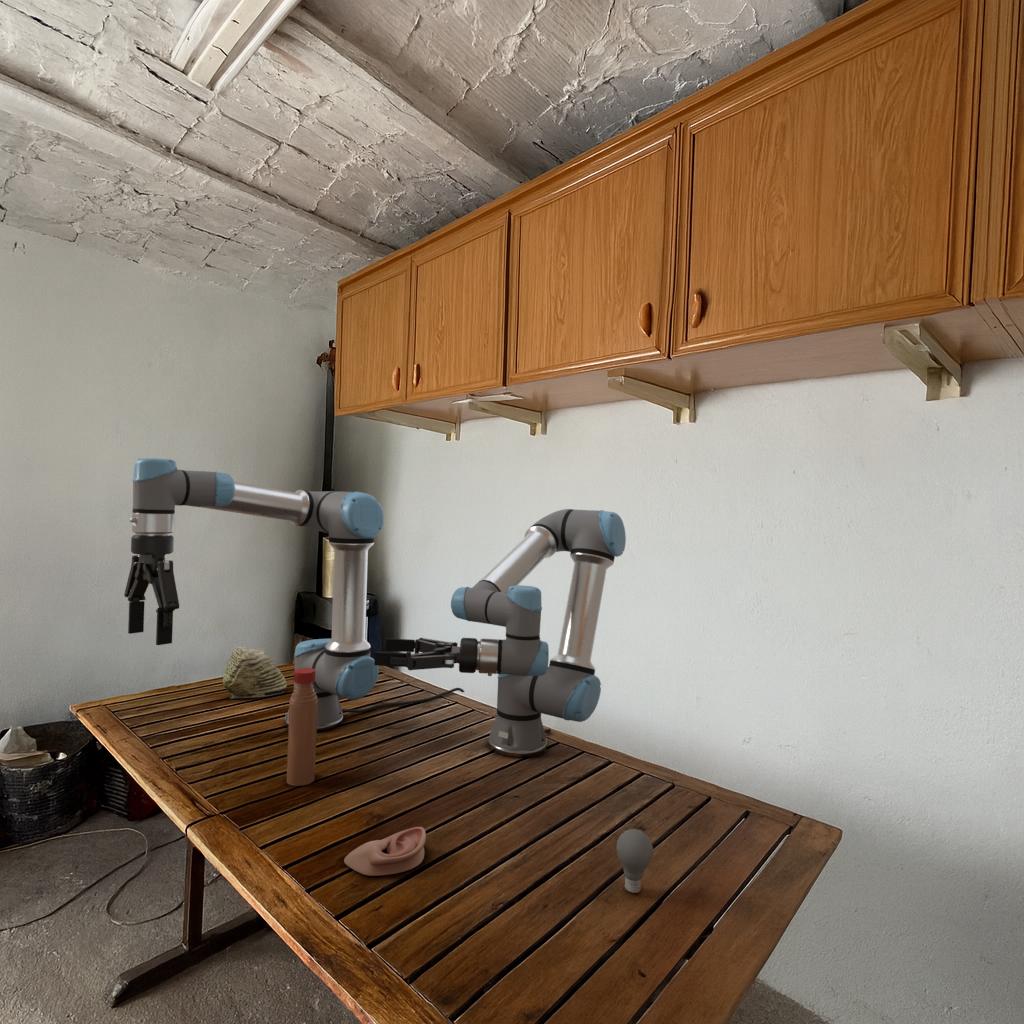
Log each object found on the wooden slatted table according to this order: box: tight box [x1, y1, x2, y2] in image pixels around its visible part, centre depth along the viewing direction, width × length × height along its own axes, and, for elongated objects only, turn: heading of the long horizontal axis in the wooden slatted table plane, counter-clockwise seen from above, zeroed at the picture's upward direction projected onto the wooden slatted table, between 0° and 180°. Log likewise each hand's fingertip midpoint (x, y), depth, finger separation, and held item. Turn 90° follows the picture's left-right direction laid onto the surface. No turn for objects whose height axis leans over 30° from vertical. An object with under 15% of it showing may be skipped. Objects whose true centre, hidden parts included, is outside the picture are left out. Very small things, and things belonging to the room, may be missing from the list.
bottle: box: [286, 683, 318, 787], centre depth 141 cm, size 6×6×24 cm
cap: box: [293, 668, 316, 684], centre depth 141 cm, size 5×5×2 cm
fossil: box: [222, 646, 288, 699], centre depth 198 cm, size 9×18×15 cm, turn 132°
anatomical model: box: [343, 826, 427, 877], centre depth 112 cm, size 13×4×12 cm
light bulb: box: [615, 828, 654, 894], centre depth 106 cm, size 6×6×10 cm
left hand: (149, 638), depth 129 cm, fingers open, 13 cm apart
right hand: (380, 651), depth 138 cm, fingers open, 13 cm apart
